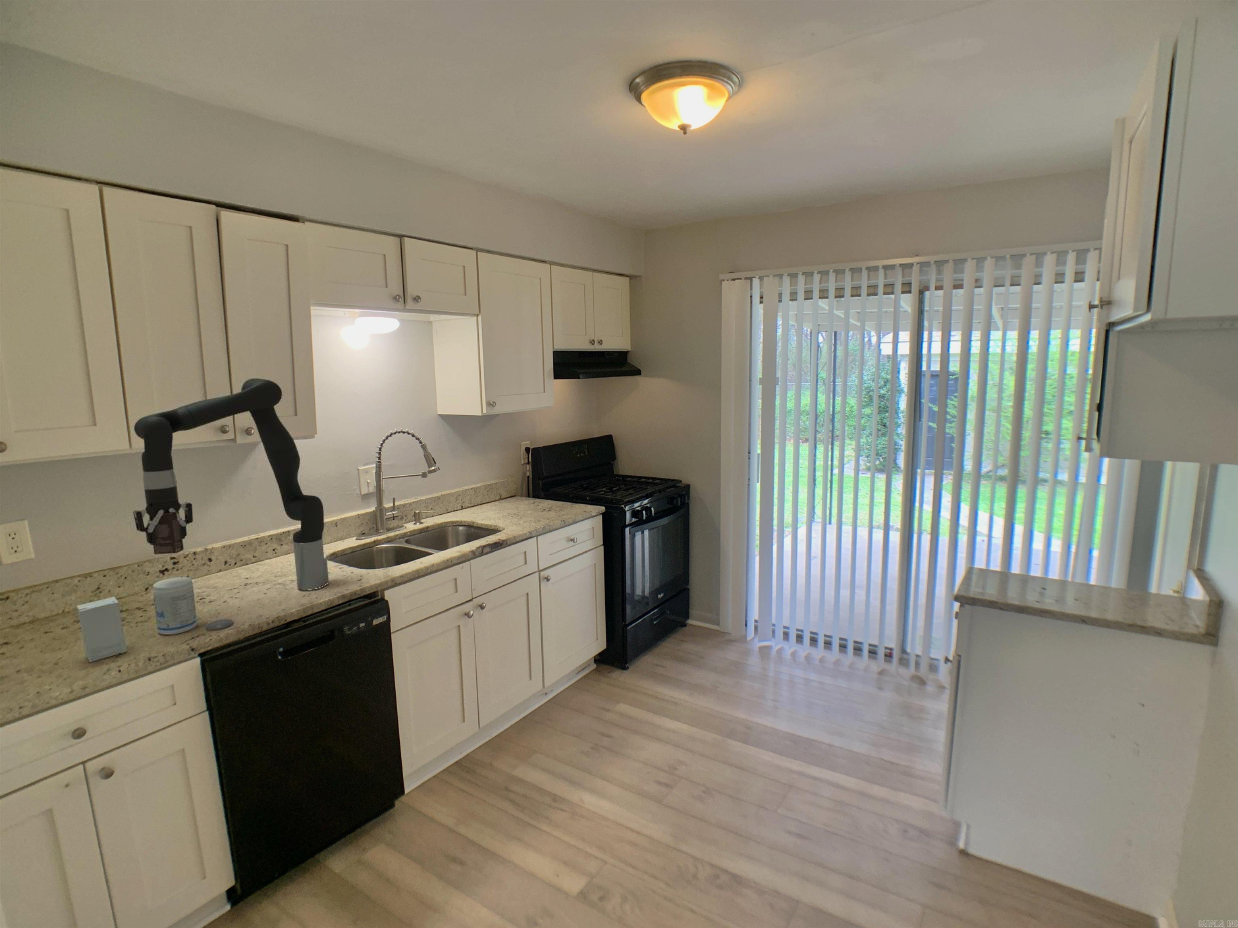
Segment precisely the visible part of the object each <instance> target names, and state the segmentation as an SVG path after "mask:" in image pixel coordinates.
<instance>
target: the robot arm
mask: <svg viewBox="0 0 1238 928" xmlns="http://www.w3.org/2000/svg"><path fill="white" fill-rule="evenodd" d="M240 390H241V391H239V392H236V393H231V394H229V395H223V396H218V397H214V398H208V399H202V400H199V401H194V402H192V403H189V404H185V405H182V406H179V407H177V408H173V409H170V410H167V411H166V410H165V411H162V412H157V413H152V414H149V415H145V416H143V417H140V418H139V419H138V420H137V421H136V422H135V424H134V426H133V429H134V431H133V432H135V435H136V436H137V437H139V439H142V440H143V446H144V448H143V449H144V451H143V452H142V454H141V464H142V465H141V467H142V471H143V472H142V482H143V490H144V497H145V505H146V507H145V509H141V510H133V511H132V513H133V517H134V523H135V527H136V531H137V532H138V531H139V532H140V533H145V537H146V542H147V544H149V545H150V546H153V545H155V536H154V532H153V529H154V528H155V526H156V525H157V523H158V521H159V520H160V517H161V516H162V514H163V513H167V512H176V511H179V512H180V510H181V508H182V511H184V512H183V513H184V519H183V518H182V516H181V515H180V514H179V515H178V513H177V512H176V514H177V520H178V521H179V523H180V524H181V532H182V540H184V539H186V537H187V536H188V533H187V525H188V524H191V523H193V522H194V519H193V518H194V517H193V514H194V513H193V504H192V503H191V502H184V503H180V501H179V495H178V486H177V485H178V484H177V483H178V482H177V478H176V473H175V470H174V463H173V456H172V450H173V440H174V438H173V437H174V434H175V433H177V432H184V431H190V430H194V429H196V428H199V427H202V426H206V425H208V424H210V423H214V422H216V421H220V420H222V419H226V418H228V417H232V416H235V415H239V414H244V413H248V412H249V413H250V416H251V417H252V419H253V422H254V424H255V426H256V429H257V433H258V435H259V438H260V442H261V443H262V445H263V448H264V453H265V454H266V458H267V460H268V462H269V465H270V466H271V469H272V472H273V475H274V478H275V480H276V483H277V487H278V489H279V493H280V498H281V501H282V505H283V509H284V511H285V515H286V516H287V517H288V518H289V519H291V520H294V521H297V522H300V529H299V530H297V531H295V532H294V533H293V534H292V542H293V543H292V544H293V553H294V564H295V565H294V566H295V573H296V576H295V577H296V586H297V589H298V588H299V589H303V590H308V589H315V588H319V587H322V586H324V585H325V584H327V583H329V584H330V582H329V569H328V560H327V558H326V557H325V552H324V541H323V533H324V529H325V519H324V517H325V516H324V515H325V514H324V504H323V502H322V499H321V498H320V497H318V496H316V495H310V494H304V493H303V491H302V489H301V486H300V484H299V479H298V477H299V476H298V475H299V470H300V464H301V457H300V454H299V451H298V448H297V444H296V443H295V440H294V438H293V436H292V435H291V433H290V432H289V431H288V429H287V428H286V427H285V426H284V424H283V423H282V420H280V418H279V416H278V414H277V412H276V409H275V406H277V405H278V404H279V403H280V402H281V399H282V397H283V391H282V389H281V387H280V385H279V384H278V383H276V382H275V381H273V380H269V379H264V378H258V377H257V378H255V377H254V378H250V379H246V380H245V381H244V382H243V384H242V386H241V389H240ZM146 514H147V515H148V520H147V523H146V526H145V523H144V518H145V516H146ZM149 516H151V517H152V518H153V521H150V518H149ZM324 587H325V586H324Z"/></svg>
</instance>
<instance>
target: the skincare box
mask: <svg viewBox="0 0 1238 928" xmlns="http://www.w3.org/2000/svg"><path fill="white" fill-rule="evenodd" d="M76 607H77V614H78V619H79V624H80V629H81V634H82V640H83V645H84V649H85V655H86V657H87V660H88V663H92V662H95V661H98V660H102V659H105V658H109V657H112V656H116V655H120V654H119V653H121V654H124V653H127V651H128V650H127V643H126V640H125V632H124V627H123V621H122V617H121V610H120V603H119V601H118V599H117V598H116V597H115V596H112V597H108V598H103V599H99V600H95V601H91V602H87V603H83V604H79V605H76Z"/></svg>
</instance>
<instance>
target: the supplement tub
mask: <svg viewBox="0 0 1238 928" xmlns="http://www.w3.org/2000/svg"><path fill="white" fill-rule="evenodd" d="M152 591H153V600H154V601H153V602H154V603H153V604H154V610H155V611H154V612H155V618H156V626H157V632H158V633H159V634H161V635H167V636H168V635H169V636H171V635H176V634H182V633H185V632H188V631H190V630H192V629H194V628H195V627H196V626H197V624H198V623H197V621H198V620H197V613H196V610H197V609H196V601H195V592H194V583H193V579H192V578H191V577H187V576H179V577H172V578H166V579H162V580H160V581H157V582H155V583H154V584H153V587H152Z"/></svg>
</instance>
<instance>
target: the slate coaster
mask: <svg viewBox="0 0 1238 928" xmlns="http://www.w3.org/2000/svg"><path fill="white" fill-rule="evenodd" d="M232 624H233V625H234V620H233V619H226V618H225V619H218V620H215V621H212V622H209V623H208V624H206V625H205V630H206V631H212V632H213V631H221V630H225V629H227V627H228V628H230V627H232V626H233V625H232ZM231 625H232V626H231ZM229 626H230V627H229ZM224 628H225V629H224ZM220 629H221V630H220Z"/></svg>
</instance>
